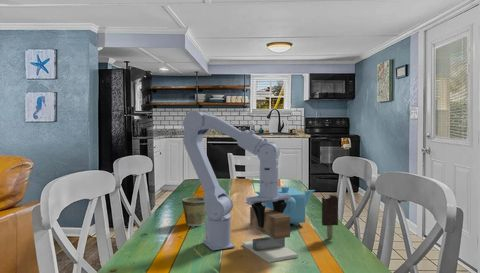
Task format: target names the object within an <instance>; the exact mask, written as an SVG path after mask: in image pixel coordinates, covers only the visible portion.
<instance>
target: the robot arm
mask: <svg viewBox="0 0 480 273" xmlns="http://www.w3.org/2000/svg"><path fill="white" fill-rule="evenodd" d="M182 126H183V141H182V142H183V145H184V148H185V150H186V152H187V154H188V157H189V160H190V162H191V164H192V166H193V169H194V171H195V173H196V175H197V178H198V180H199V183H200V185H201V188H202V190H203V192H204V195H203V198H204V203H205V212H206V216H207V218H206V220H205V222H204V232H205V233H204V237H205V238H204V240H202V244H204V245H205V246H206V247H207V248H209V249H210V250H211V251H216V250H217V251H218V250H224V249H230V248H236V245H235V244H234V243H233V242H231V241H232V240H231V237H232V236H231V234H232V233H231V232H232V231H231V229H232V226H231V225H232V223H231V221H232V218H231V217H232V216H231V214H230V213H231V211H232V210H233V208H234V203H233V199H232V198H231V197H230V196H229V195H228V194H227V192H226V190H225V189H224V188H223V187H221V186H220V183H219V181H218V178H217V177H216V174H215V172H214V170H213V167H212V164H211V163H210V161H209V158H208V155H207V153H206V151H205V148H204V146H203V144H202V142H203V139H204V137H205V135H206V134H207V133H208V131H209V130H217V131H218V132H220V133H221V134H223V135H225V136H228V137H230V138H232V139H234V140H235V141H236V143H237V146H239V147H240V148H242V149H244V150H245V151H247V152H249V153H251V154H252V155H254V156H256V157H258V160H259V192H260V195H258V194H257V195H255V196H250V197H249V196H247V197H246V198H245V199H246V203H245V204H246V205H248V206H250V207H252V208H253V210H254V212H255V215H256V218H257V221H258V226H259V227H261V228H263V227H264V212H265V208H266V207H265V206H263V203H269V202H272V204H273V210H275V211H278V212H280V213H283V212H284V210H285V208H286V206H287V203H286V202H285V201H291V195H290V194H278V186H279V162H278V161H279V159H278V158H279V156H280V155H281V154H280V153H281V150H280V147H279V146H278V145H277V144H276V143H275V142H274V141H269V139H268V138H267V137H264V138H263V137H261V136H259V135H257V133H256V131H254V130H253V129H250V130H249V129H245V130H243V131H242V130H240V129H239V128H237V127H235V126H234V125H232V124H231V123H229V122H228V121H226V120H224V119H222V118H220V117H218V116H217V115H214V114H212V113H210V112H209V111H198V110H191V111H189V112H187V113H186V114H185V116H184V118H183V120H182Z"/></svg>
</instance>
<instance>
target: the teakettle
mask: <svg viewBox="0 0 480 273" xmlns="http://www.w3.org/2000/svg"><path fill="white" fill-rule="evenodd" d="M315 191H316V190H315V189H309V190H306V191H305V193H303V192H302V191H299V190H298V189H296V188H290V186H286V185H285V186H284V185H283V186H279V185H278V194H290V195H291V201H285V202H286V203H287V206H286V208H285V210H284V212H283V214H285V215H287V216H290V224H292V225H293V226H296V227H297V226H301V224H305V223H306V208H307V205H308V203H309V202H308V201H309V198H310V197H311V196H310V195H311V194H312V193H314V192H315ZM254 193H255V194H257V196H258V195H260V191H254ZM262 204H263V206H265V207H268V208H270V209H273V204H272V202H269V203H262Z"/></svg>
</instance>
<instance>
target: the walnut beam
mask: <svg viewBox="0 0 480 273" xmlns="http://www.w3.org/2000/svg"><path fill="white" fill-rule="evenodd" d="M249 209H250V210H249V219H250V220H249V226H250V227H252V228H254V229H255V230H258V231H259V232H260V233H261V232H262V233H263V234H265V235H267V237H272V238H274V239H280V238H285V239H286V238H291V223H290V216H287V215H285V214H283V213H280V212H278V211H275V210H273V209H270V208H268V207H266V208H265V212H264V227H263V228H261V227H259V226H258V221H257V218H256V215H255V212H254V210H253V208H252V206H250V207H249Z"/></svg>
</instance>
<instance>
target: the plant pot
mask: <svg viewBox="0 0 480 273" xmlns="http://www.w3.org/2000/svg"><path fill="white" fill-rule="evenodd" d="M181 201H182V202H181V204H182V208H183V214H184V219H185V224H186V226H187V225H188V226H187V227H189V226H199V227H202V226H204V225H205V222H206V220H205V219H206V216H207V214H206V212H205V203H204V196H202V197H201V196H191V197H184V198H182V200H181ZM203 224H204V225H203ZM201 225H202V226H201Z"/></svg>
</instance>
